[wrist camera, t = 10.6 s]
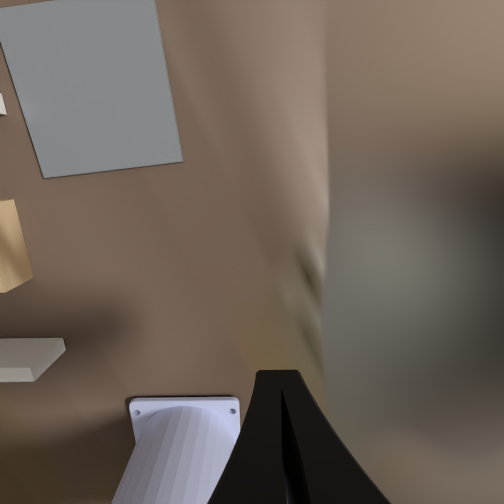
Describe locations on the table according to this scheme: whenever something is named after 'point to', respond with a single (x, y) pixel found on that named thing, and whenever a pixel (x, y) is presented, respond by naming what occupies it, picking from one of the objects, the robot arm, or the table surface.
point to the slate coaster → (92, 84)
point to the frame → (27, 348)
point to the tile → (12, 249)
